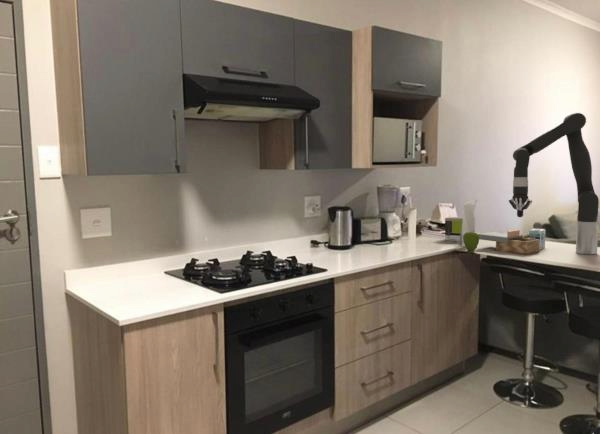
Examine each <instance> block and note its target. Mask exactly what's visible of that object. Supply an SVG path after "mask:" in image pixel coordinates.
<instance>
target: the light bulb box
mask: <svg viewBox="0 0 600 434" xmlns="http://www.w3.org/2000/svg"><path fill="white" fill-rule="evenodd" d="M528 232H529V234H528V238H530V239H539V240H540V242H539V251H540V250H543V249H545V247H546V233H547V232H546V229H545V228H532V229H529V231H528Z"/></svg>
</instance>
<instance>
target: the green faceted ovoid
mask: <svg viewBox="0 0 600 434" xmlns="http://www.w3.org/2000/svg"><path fill="white" fill-rule="evenodd" d="M478 234H479V233H477V232H475V233H474V232H466V233H465V234H464V235H463V243H464V244H465V247H464V248H465V249H466V251H467V252H470V253H473V252H474V251H475V250H476V249H477V248H478V245H479V243H480V242H479V241H480V239H479V235H478Z"/></svg>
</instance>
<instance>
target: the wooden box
mask: <svg viewBox="0 0 600 434" xmlns="http://www.w3.org/2000/svg"><path fill="white" fill-rule="evenodd" d="M539 242H540V240H539V239H530V238H529V237H523V238H522V237H518V238H512V239H508V243H504V242H496V241H495V251H496V252H504V253H511V254H515V255H516V254H517V255H524V256H527V255H533V254H536V253H537V254H538V253H540V250H539Z"/></svg>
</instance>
